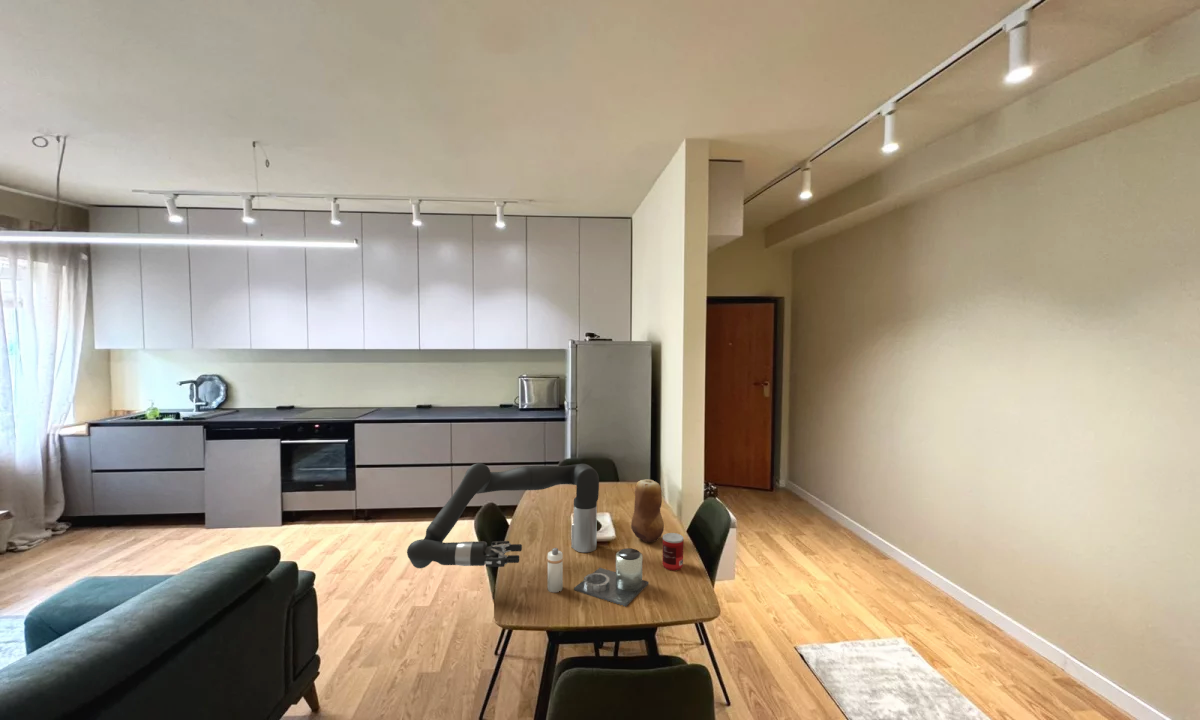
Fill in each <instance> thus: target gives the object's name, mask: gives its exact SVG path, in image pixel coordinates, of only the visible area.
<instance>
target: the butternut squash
mask: <svg viewBox="0 0 1200 720" xmlns="http://www.w3.org/2000/svg"><path fill="white" fill-rule="evenodd" d="M662 494H663V492H662V487H661V485H660V483H658V482H657V481H656V480H655V481H654V480H653V479H648V478H647V479H641V480H639V481H637V482H636V485H635V488H634V506H633V507H634V509H633V513H632V518H631V522H630V523H631V525H630V528H631V530H632V532H633V534H634V535H635V537H637V538H638V539H640V540H642V541H643V542H644V543H649V544H650V543H653V542H656V541H658V540H659V539H660V538H661V536H663V533H664V530H665V529H664V528H665V523H664V519H663V516H662V513H661V507H662V503H663V496H662Z"/></svg>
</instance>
